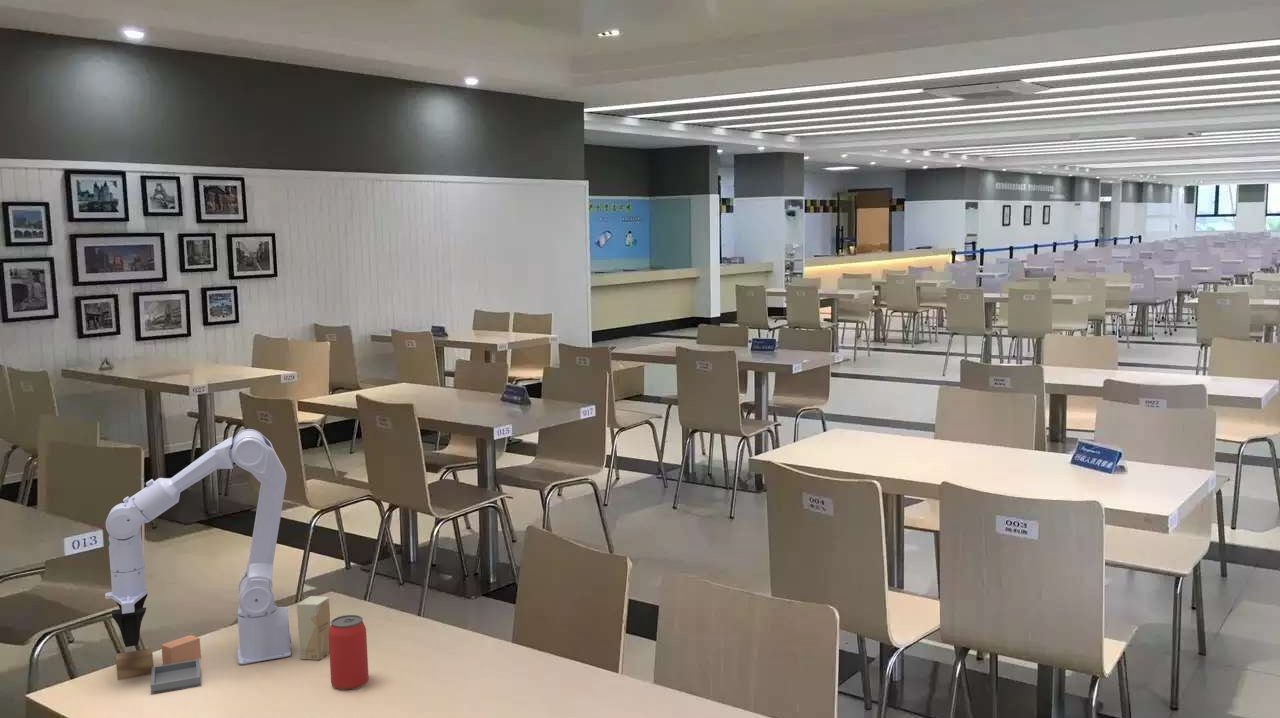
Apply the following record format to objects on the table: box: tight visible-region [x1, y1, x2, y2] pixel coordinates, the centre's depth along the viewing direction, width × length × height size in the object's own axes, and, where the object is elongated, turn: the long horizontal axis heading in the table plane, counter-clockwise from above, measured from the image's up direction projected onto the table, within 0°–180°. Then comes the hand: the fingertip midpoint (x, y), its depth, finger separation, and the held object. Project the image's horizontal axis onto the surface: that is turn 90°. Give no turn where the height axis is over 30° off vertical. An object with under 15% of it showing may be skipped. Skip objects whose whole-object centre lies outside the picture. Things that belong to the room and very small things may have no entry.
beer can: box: [328, 614, 370, 691], centre depth 188 cm, size 7×7×12 cm
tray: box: [150, 658, 201, 695], centre depth 191 cm, size 8×9×2 cm
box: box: [296, 595, 331, 661], centre depth 202 cm, size 5×4×11 cm
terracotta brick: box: [160, 634, 202, 665], centre depth 201 cm, size 6×3×4 cm, turn 144°
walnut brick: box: [115, 647, 154, 681], centre depth 195 cm, size 6×3×4 cm, turn 114°
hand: (132, 638), depth 194 cm, fingers open, 7 cm apart
